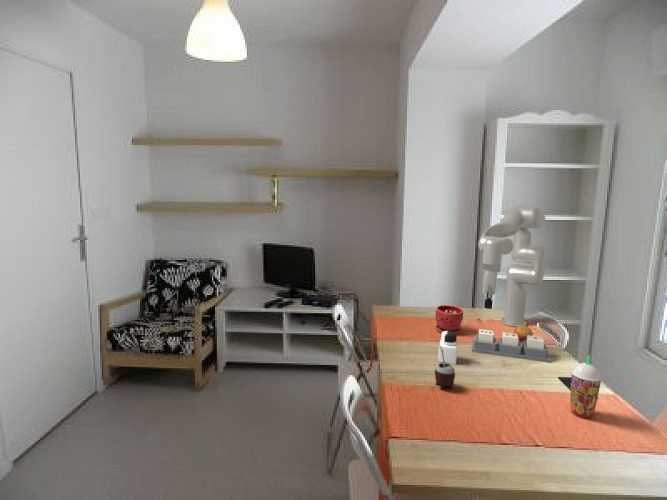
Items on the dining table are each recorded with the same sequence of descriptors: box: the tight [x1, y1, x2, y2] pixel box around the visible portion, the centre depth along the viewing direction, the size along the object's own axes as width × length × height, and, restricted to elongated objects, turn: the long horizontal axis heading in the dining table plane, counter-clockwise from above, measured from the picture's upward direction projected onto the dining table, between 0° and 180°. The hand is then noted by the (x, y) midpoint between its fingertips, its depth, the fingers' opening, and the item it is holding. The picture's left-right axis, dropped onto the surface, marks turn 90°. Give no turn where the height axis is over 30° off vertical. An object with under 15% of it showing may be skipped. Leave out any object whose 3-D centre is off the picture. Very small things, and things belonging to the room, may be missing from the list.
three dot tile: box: [478, 328, 495, 343], centre depth 185 cm, size 6×6×4 cm
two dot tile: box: [501, 331, 518, 346], centre depth 182 cm, size 6×6×4 cm
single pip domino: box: [526, 335, 545, 350], centre depth 179 cm, size 6×6×4 cm
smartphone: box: [557, 376, 571, 392], centre depth 153 cm, size 7×1×15 cm
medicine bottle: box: [437, 331, 459, 365], centre depth 173 cm, size 7×7×12 cm
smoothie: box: [569, 355, 603, 419], centre depth 134 cm, size 8×8×20 cm
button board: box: [471, 334, 551, 363], centre depth 183 cm, size 11×31×4 cm, turn 71°
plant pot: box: [435, 304, 464, 335], centre depth 206 cm, size 13×13×12 cm
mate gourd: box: [434, 341, 456, 391], centre depth 151 cm, size 8×8×15 cm
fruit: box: [513, 325, 534, 343], centre depth 197 cm, size 8×8×8 cm
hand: (488, 308), depth 183 cm, fingers closed
